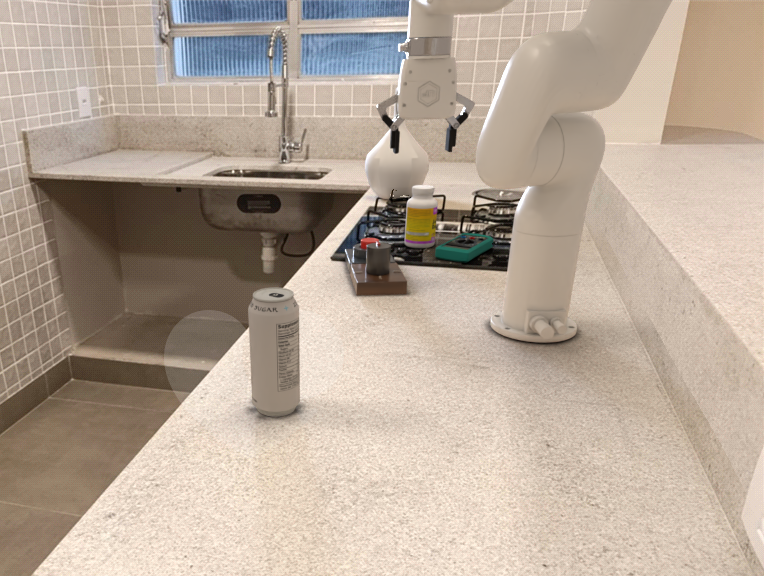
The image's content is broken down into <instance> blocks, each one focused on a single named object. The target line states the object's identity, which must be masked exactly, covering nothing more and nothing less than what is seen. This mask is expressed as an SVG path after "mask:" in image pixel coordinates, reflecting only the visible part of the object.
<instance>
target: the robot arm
mask: <svg viewBox="0 0 764 576" xmlns="http://www.w3.org/2000/svg"><path fill="white" fill-rule="evenodd" d="M512 2H514V0H409V7H408V26H407V39H406V40H405V41H404V42H399V43H398V52H399V53H400V52H401V53H404V54H405V56H406V58H403V59H402V60H401V65H400V70H399V76H398V83H397V88H398V90H397V94H395V93H394V95H392V96H390V97H388V98H386V99H385V100H383V101H381V102H379V103H378V104H377V105H376V107H375V108H376V110H377V112H378V114H379V117H380V119H381V121H382V122H383V123H384V124H385V126H387V127H388V128H389V130H390V129H391V134H390V149H393V152H394V153H395V154H398V153H399V141H400V131H399V130H398V129H399V126H400V125H401V124H402V122H403V121H407V120H408V121H414V120H415V121H418V120H443V119H444V120H445V121H446V123H447V124H448V126H447V128H446V131H445V132H446V133H445V143H444V144H445V145H444V150H445V151H446V152H448V153H452V152H453V148H455V147H456V146H457V134H458V133H457V132H458V129H459V128H460V126H461V125H462V124H463V123H465V121H466V120H467V119H468V118H469V116H470V114H471V112H472V111H473V109H474V107H475V104H476V102H475V101H474V100H471V99H469V98H468V97H466V96H464V95H462V94H460V93H458V92H457V90H458V89H457V83H458V82H457V80H458V79H457V75H458V74H457V62H456V61H457V60H456V57H454V56H453V57H451V54H452V43H453V30H454V20H455V19H454V18H455V15H475V14H479V15H480V14H482V15H483V14H491V13H495V12H498V11H500V10H502V9H503V8H505V7H507V6H508V5H509V4H511V3H512ZM672 2H673V0H590V1H589V4H588V5H587V8H586V10H585V13H584V14H583V16H582V17H581V20H580V21H579V23H578V25H577V26H576V27H574V28H573V29H571V30H558V31H546V32H542V33H538V34H536V35H533V36H531V37H529V38H528V39H526V40H525V41H524V42H523V43H521V44H520V46H518V48H517V49H516V50H515V51H514V53H512V55H511V57H510V59H508V61H507V64H506V66H505V68H504V71H503V74H502V75H501V79H500V81H499V84H498V86H497V89H496V91H495V94H494V96H493V97H494V98H492V102H491V105H490V107H489V110H488V113H487V115H486V118H485V120H484V123H483V126H482V129H481V131H480V135H479V137H478V141H477V145H476V149H475V167H476V173H477V175H478V177H479V179H480V180H481V181H482V182H483V183H484V184H485V185H487V186H488V187H490V188H493V189H498V190H512V189H522V188H526V189H525V190H524V192H523V194H522V196H521V197H520V200H519V202H518V204H517V206H516V208H515V211H514V217H513V224H512V229H511V230H512V231H511V239H510V246H509V253H508V254H509V255H508V261H507V269H506V270H507V271H506V277H505V278H506V279H505V287H504V294H503V302H502V310H500V311H497V312H495V313H494V314H493V315H491V317H490V323H489V326H490V327H491V330H493V331H494V332H496V333H497V334H499V335H502V336H504V337H506V338H509V339H513V340H517V341H522V342H528V343H530V342H531V343H543V344H544V343H545V344H546V343H558V342H564V341H568V340H570V339H572V338H573V337H574V336H576V334H577V332H578V323H577V322H576V321H575V319H573V318H571V317H569V313H570V306H571V300H572V295H573V288H574V282H575V277H576V272H577V266H578V259H579V254H580V247H581V242H582V235H583V230H584V227H585V226H584V225H585V219H586V214H587V209H588V204H589V200H590V196H591V193H592V190H593V186H594V183H595V180H596V178H597V175H598V172H599V170H600V167H601V164H602V162H603V158H604V155H605V150H606V135H605V131H604V129H603V126H602V125H601V123H600V122H599V121H598V120H597V119H596V118H595V117H593V116H592V115H590V114H588V113H586V112H594V111H599V110H603V109H606V108H609V107H611V106H613V105H614V104H616V103H617V101H618V100H619V99H620V98H621V97H622V96H623V94H624V93H625V91H626V89H627V88H628V86H629V84H630V82H631V81H632V79H633V77H634V75H635V74H636V71H637V69H638V68H639V66H640V63H641V61H642V60H643V58H644V56H645V54H646V52H647V50H648V48H649V47H650V44H651V43H652V41H653V38H654V37H655V36H656V33H657V31H658V29H659V27H660V26H661V24H662V21H663V19H664V17H665V15H666V13H667V11H668V9H669V8H670V6H671V4H672ZM395 103H396V114H397V116H396V117H395V118H394V117H393V119H392V118H391V117H390V116H389V114H388V113H387V109H388V108H389V107H391V106H393V105H395ZM457 103H459V104H461V105H463V108H462V111H461V112H460V113H459V114H458V115H457V116H456V117H455V113H456V109H457Z"/></svg>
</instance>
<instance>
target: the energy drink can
mask: <svg viewBox="0 0 764 576" xmlns="http://www.w3.org/2000/svg"><path fill="white" fill-rule="evenodd" d="M294 296H295V293H294V291H293V290H292V289H289V288H285V287H278V286H277V287H273V286H272V287H264V288H260V289H257V290H255V291H254V292H253V293H252V299H251V302H250V304H249V305H248V307H247V309H248V310H247V312H248V313H247V316H248V336H249V337H248V339H249V361H250V362H249V363H250V383H251V386H250V387H251V403H252V405H253V406H254V407H255V408H256V410H257V412H258V413H260V414H262V415H264V416H267V417H273V418H275V417H277V418H278V417H279V418H280V417H284V416H288V415H291V414H292V413H293V412H295V410H296V408H297V406H299V404H300V403H301V368H300V364H301V358H300V357H301V355H300V354H301V353H300V350H301V349H300V306H299V304H298V301H297V300H296V299H295V297H294Z"/></svg>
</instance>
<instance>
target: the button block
mask: <svg viewBox="0 0 764 576" xmlns="http://www.w3.org/2000/svg"><path fill="white" fill-rule="evenodd" d="M366 254H367V249H362V248H361V242H360V243H356V244H354V245H353V246H352V248H345V249H344V261H345V265H346V267H347V270H348V274H349V275H350V267H351V264H366ZM390 263H397V262H396V260H395V258H394V257H393V255H392V254H391V257H390Z"/></svg>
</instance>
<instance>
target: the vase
mask: <svg viewBox="0 0 764 576" xmlns="http://www.w3.org/2000/svg"><path fill="white" fill-rule="evenodd" d="M397 90H398V87H395V93H394V95H395V94H397ZM393 111H394V112H393V119H394V118H395V117H396V116H397V114H396V103H395V104H394V109H393ZM398 130H399V131H400V141H399V153H398V154H395V153H394V152H393V149H390V134H391V129H390V128H389V130H388V131H387V132H386V133H385V134H384V135H383V137H382V138H381V139H380V140H379V141H378V143H377V144H376V145H374V146H373V148H372V149H371V150H370V151H369V152H368V153H367V154H366V156H365V157H366V158H365V161H364V172H365V176H366V180H367V183H368V186H369V187H370V189H371V191H372V193H374V195H375V196H376V197H377V198H379V199H383V200H388V201H390V200H389V198H390V194H391V191H392V190H393V189H394V190H397V191H394V192H393V195H394V198H395V199H396V198H403V197H400V196H403V195H409V196H410V197H411V198H412V197H413V194H412V187H413V186H416V185H424V183H425V181H426V178H427V175H428V174H429V173H428V172H429V168H430V160H429V159H430V158H429V154H428V153H427V151H426V150H425V149H424V148H423V147H422V146H421V145H420V144H419V142H418V141H417V140H416V139H415V137H414V136H413V135H412V133H411V132H410V131H409V129H408V127H407V125H406V120H404V121H403V122H402V124H401V125H400V126H399V129H398Z"/></svg>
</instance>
